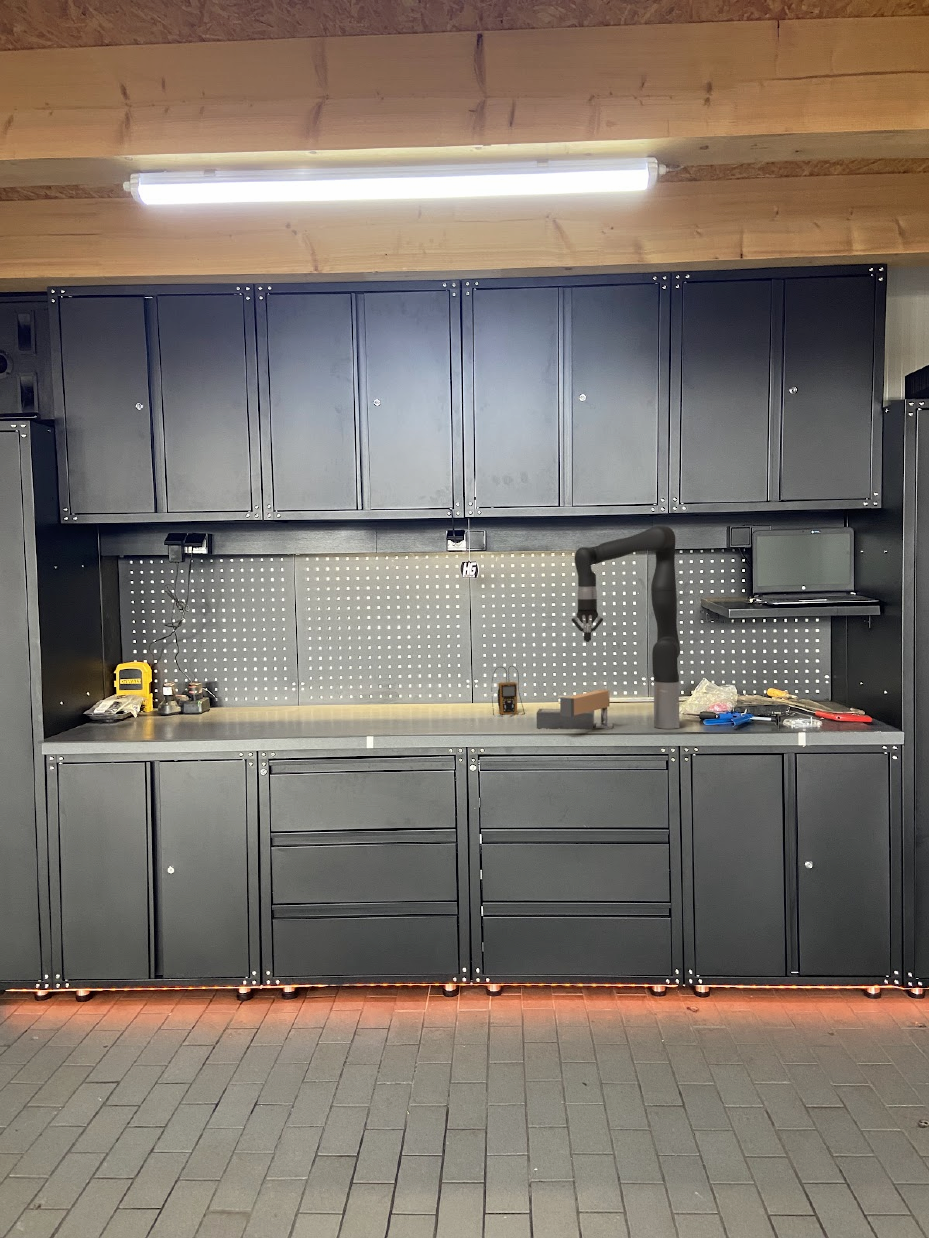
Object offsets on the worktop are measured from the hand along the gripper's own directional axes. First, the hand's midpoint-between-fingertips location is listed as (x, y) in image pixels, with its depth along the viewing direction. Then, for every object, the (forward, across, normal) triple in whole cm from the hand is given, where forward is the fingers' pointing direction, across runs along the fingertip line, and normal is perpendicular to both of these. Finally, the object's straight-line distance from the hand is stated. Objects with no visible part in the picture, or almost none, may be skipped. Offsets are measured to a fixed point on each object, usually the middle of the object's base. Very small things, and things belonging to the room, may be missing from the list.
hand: (587, 641), depth 362 cm
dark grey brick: (+31, -8, -17) cm, 36 cm away
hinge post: (+31, +7, -17) cm, 36 cm away
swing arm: (+23, +1, -28) cm, 36 cm away
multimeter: (+31, -32, +8) cm, 45 cm away
